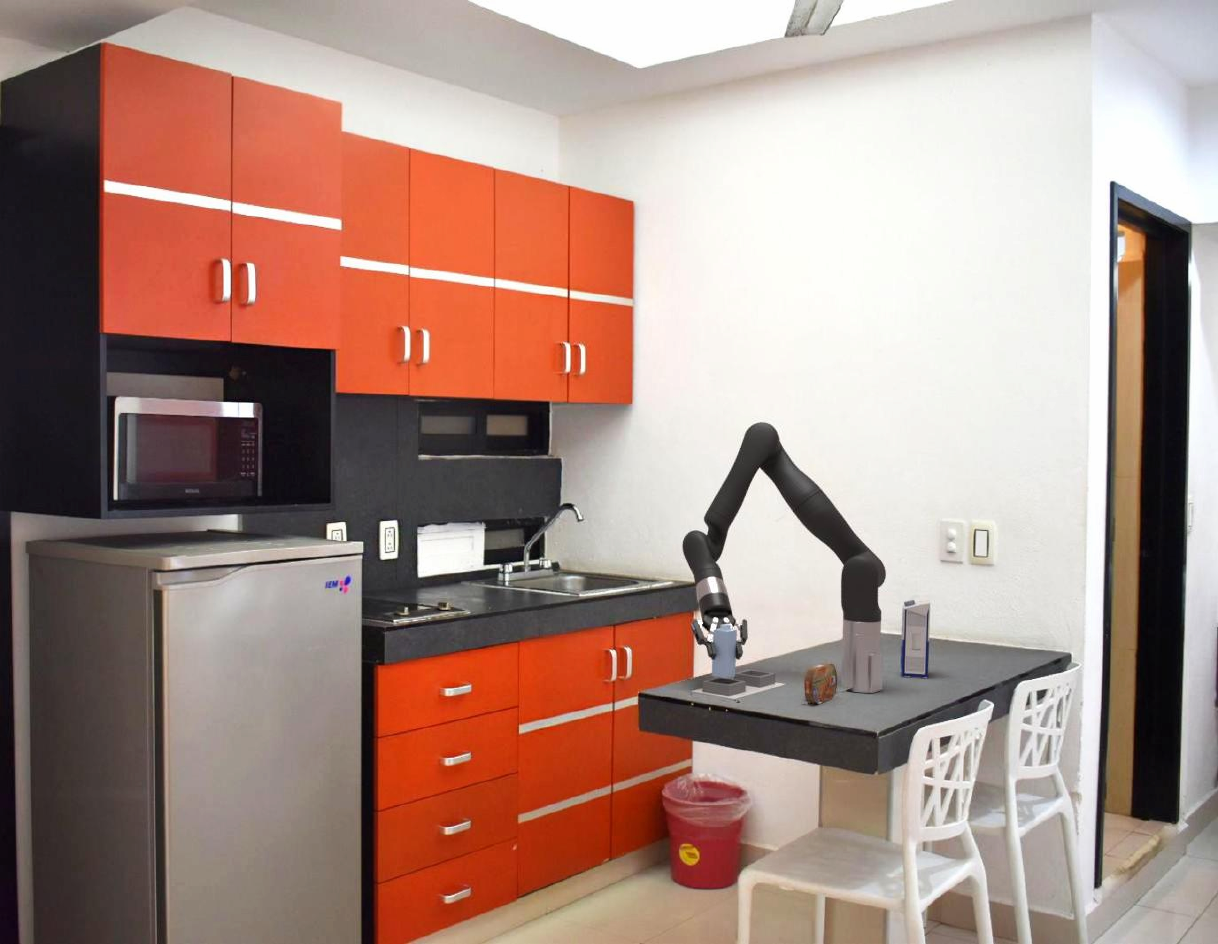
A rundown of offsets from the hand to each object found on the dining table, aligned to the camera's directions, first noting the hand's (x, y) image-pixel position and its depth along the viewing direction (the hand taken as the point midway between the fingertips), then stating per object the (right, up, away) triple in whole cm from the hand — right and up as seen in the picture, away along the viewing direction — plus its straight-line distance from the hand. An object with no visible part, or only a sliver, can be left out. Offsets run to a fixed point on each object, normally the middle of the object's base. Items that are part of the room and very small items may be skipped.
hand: (726, 657), depth 282 cm
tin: (+22, -10, 0) cm, 24 cm away
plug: (-1, -5, +2) cm, 5 cm away
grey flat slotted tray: (+4, -9, +7) cm, 12 cm away
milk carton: (+53, -10, +35) cm, 64 cm away
